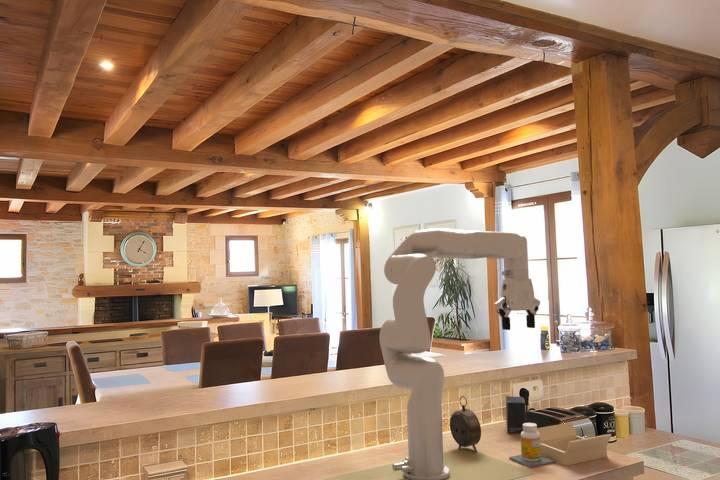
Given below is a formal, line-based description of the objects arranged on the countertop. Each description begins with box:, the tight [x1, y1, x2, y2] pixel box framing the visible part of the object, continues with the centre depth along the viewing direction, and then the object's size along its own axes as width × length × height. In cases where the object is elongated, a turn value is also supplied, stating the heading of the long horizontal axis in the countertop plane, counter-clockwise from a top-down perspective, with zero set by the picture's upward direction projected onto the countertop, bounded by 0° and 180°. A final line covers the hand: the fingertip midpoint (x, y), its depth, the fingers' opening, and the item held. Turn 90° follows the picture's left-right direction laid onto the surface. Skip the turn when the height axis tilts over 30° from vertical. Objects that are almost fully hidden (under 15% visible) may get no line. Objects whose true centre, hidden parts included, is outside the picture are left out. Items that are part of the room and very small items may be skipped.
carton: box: [536, 421, 612, 466], centre depth 173 cm, size 16×16×7 cm
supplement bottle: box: [520, 422, 541, 461], centre depth 169 cm, size 5×5×10 cm
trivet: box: [508, 454, 556, 469], centre depth 169 cm, size 9×9×1 cm
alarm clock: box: [449, 395, 482, 453], centre depth 183 cm, size 11×5×16 cm, turn 27°
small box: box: [505, 395, 527, 435], centre depth 203 cm, size 11×6×10 cm, turn 168°
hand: (518, 328), depth 186 cm, fingers open, 9 cm apart
